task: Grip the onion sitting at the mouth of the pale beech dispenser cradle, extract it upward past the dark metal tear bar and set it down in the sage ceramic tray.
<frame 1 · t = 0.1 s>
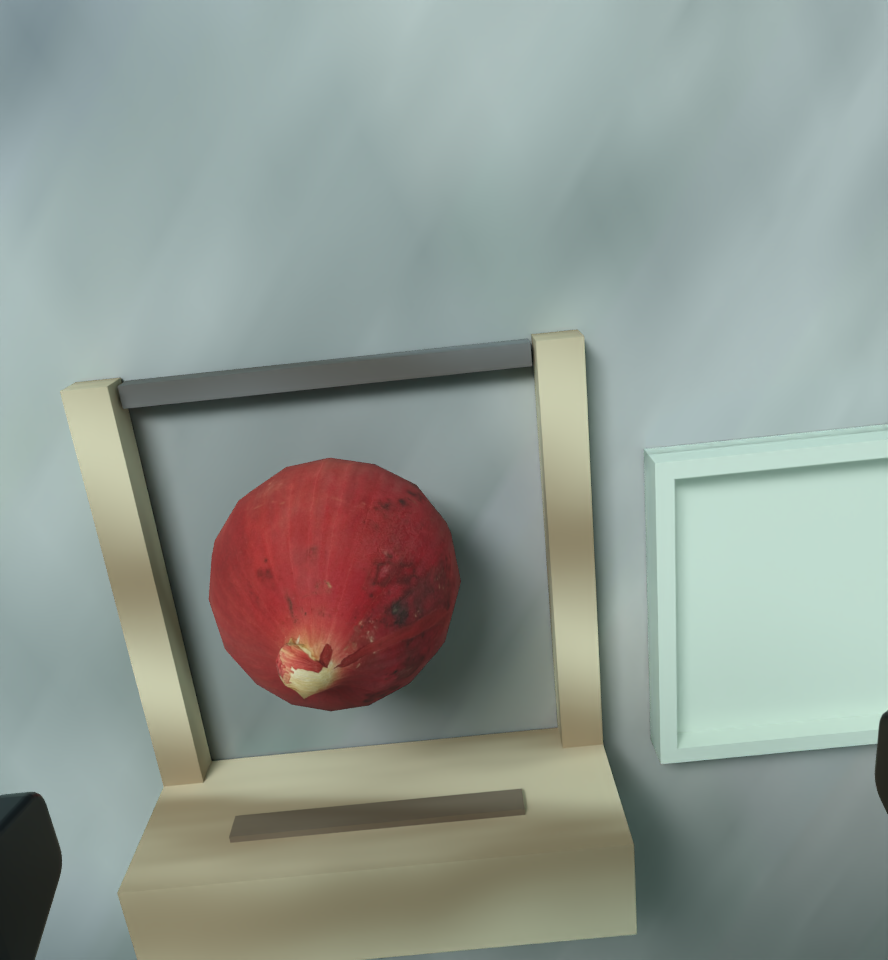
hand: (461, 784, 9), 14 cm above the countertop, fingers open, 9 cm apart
onion: (350, 518, 24), resting in dispenser
tray: (810, 587, 24), on the countertop
dispenser: (357, 570, 24), on the countertop
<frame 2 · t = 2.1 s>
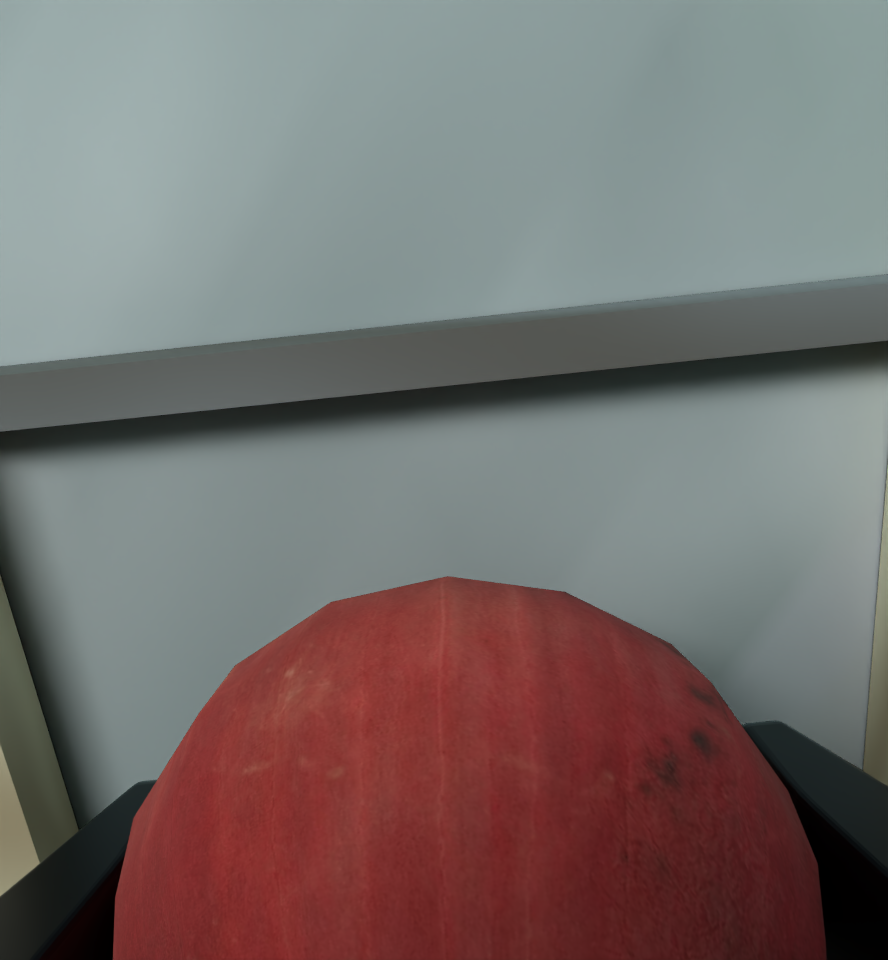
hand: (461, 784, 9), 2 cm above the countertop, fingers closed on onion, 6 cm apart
onion: (454, 668, 11), resting in dispenser, touching gripper
dispenser: (465, 773, 11), on the countertop
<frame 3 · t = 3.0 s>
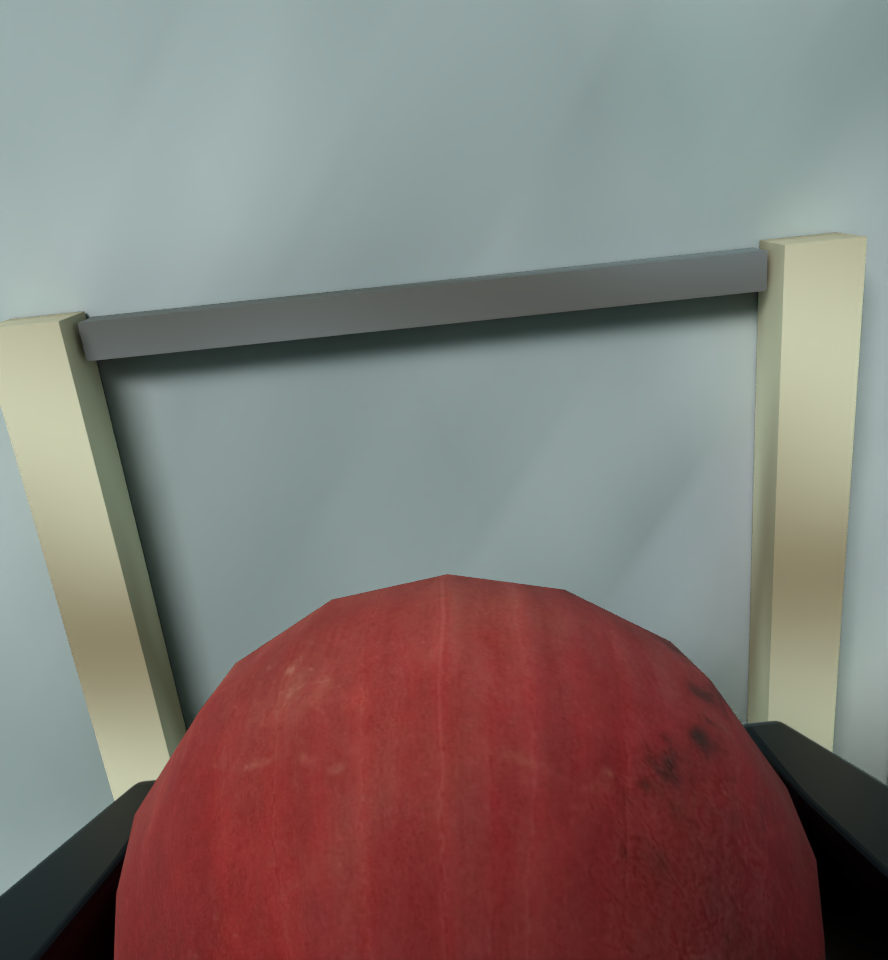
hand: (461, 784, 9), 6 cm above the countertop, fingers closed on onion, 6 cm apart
onion: (454, 667, 11), point 4 cm above the countertop, touching gripper
dispenser: (456, 619, 15), on the countertop
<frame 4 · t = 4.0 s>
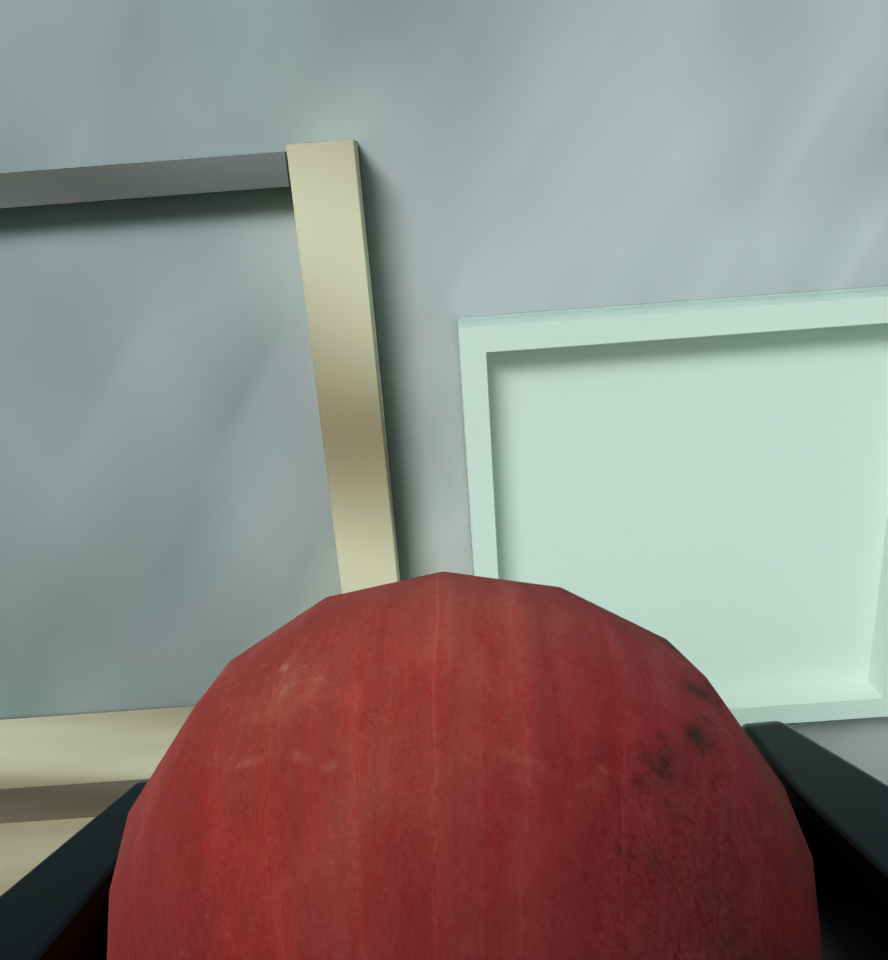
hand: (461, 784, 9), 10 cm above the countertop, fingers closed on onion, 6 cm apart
onion: (451, 665, 11), point 8 cm above the countertop, touching gripper
tray: (684, 517, 19), on the countertop
dispenser: (82, 474, 18), on the countertop
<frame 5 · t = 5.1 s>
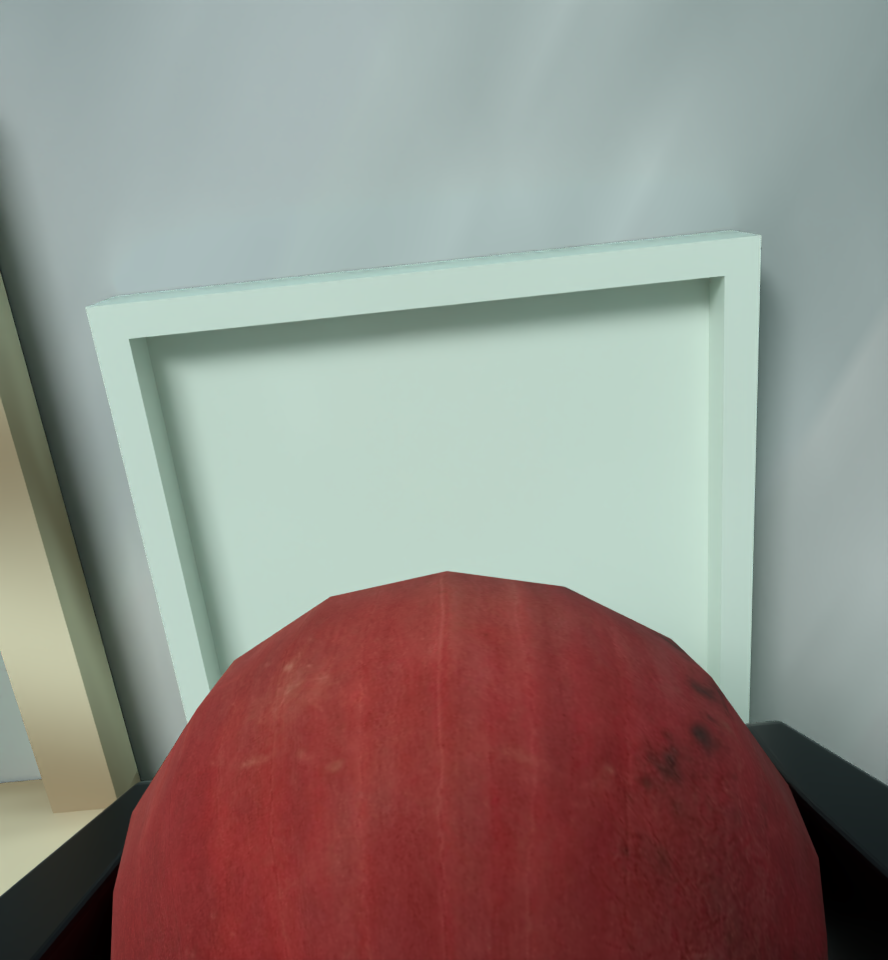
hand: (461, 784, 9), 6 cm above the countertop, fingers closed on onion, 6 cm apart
onion: (454, 665, 11), point 4 cm above the countertop, touching gripper
tray: (452, 545, 15), on the countertop
when the fingers open (4 cm above the countertop, at t = 5.9 s): onion drops 1 cm, resting on tray.
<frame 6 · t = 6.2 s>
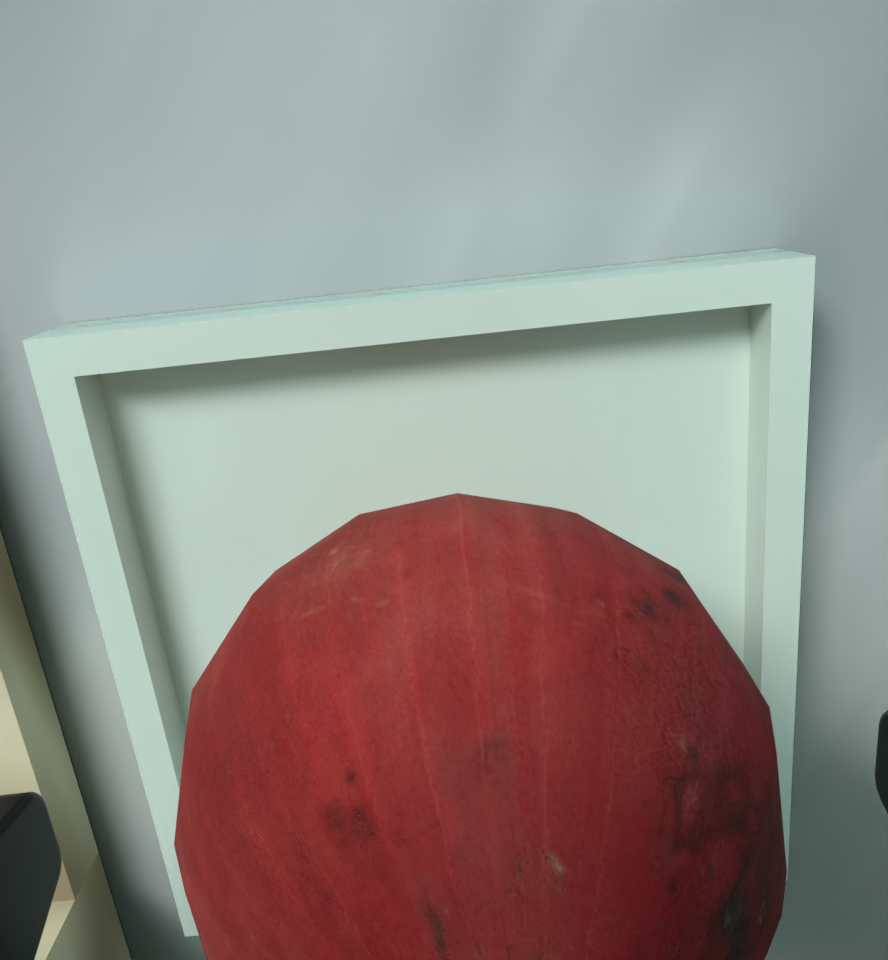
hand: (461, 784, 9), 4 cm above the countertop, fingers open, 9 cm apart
onion: (450, 620, 12), resting on tray
tray: (452, 604, 13), on the countertop
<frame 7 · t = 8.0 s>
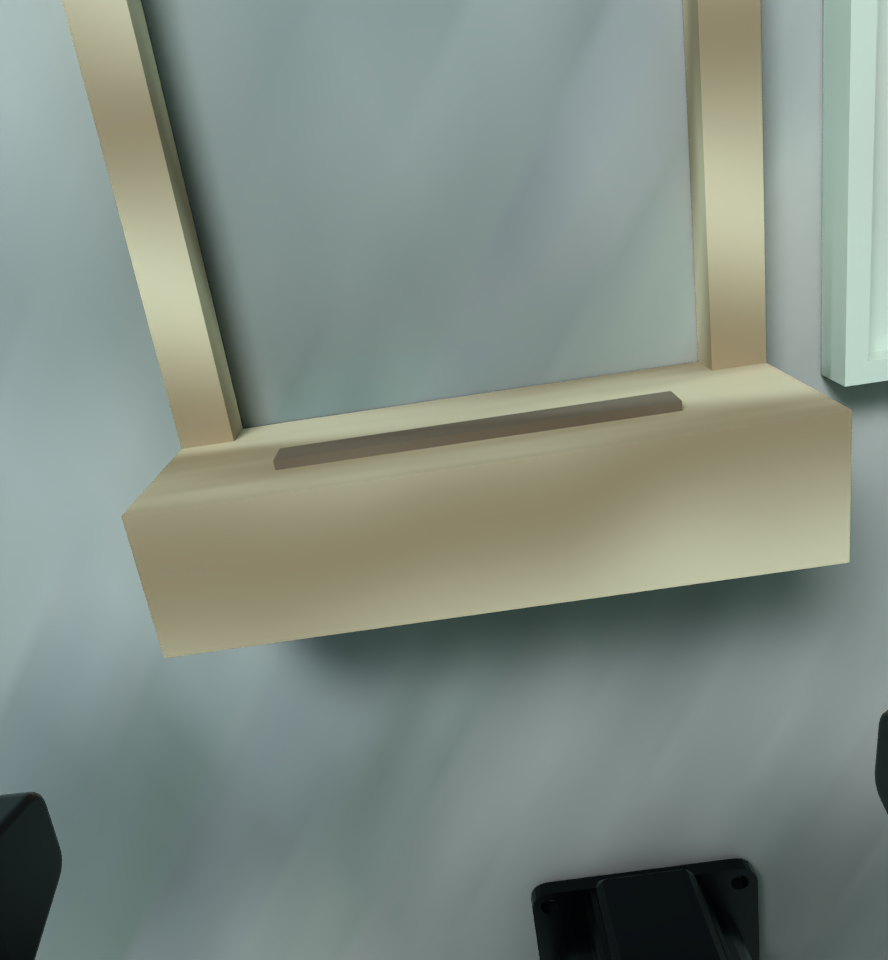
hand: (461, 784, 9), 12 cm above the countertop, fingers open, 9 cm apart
dispenser: (430, 120, 18), on the countertop
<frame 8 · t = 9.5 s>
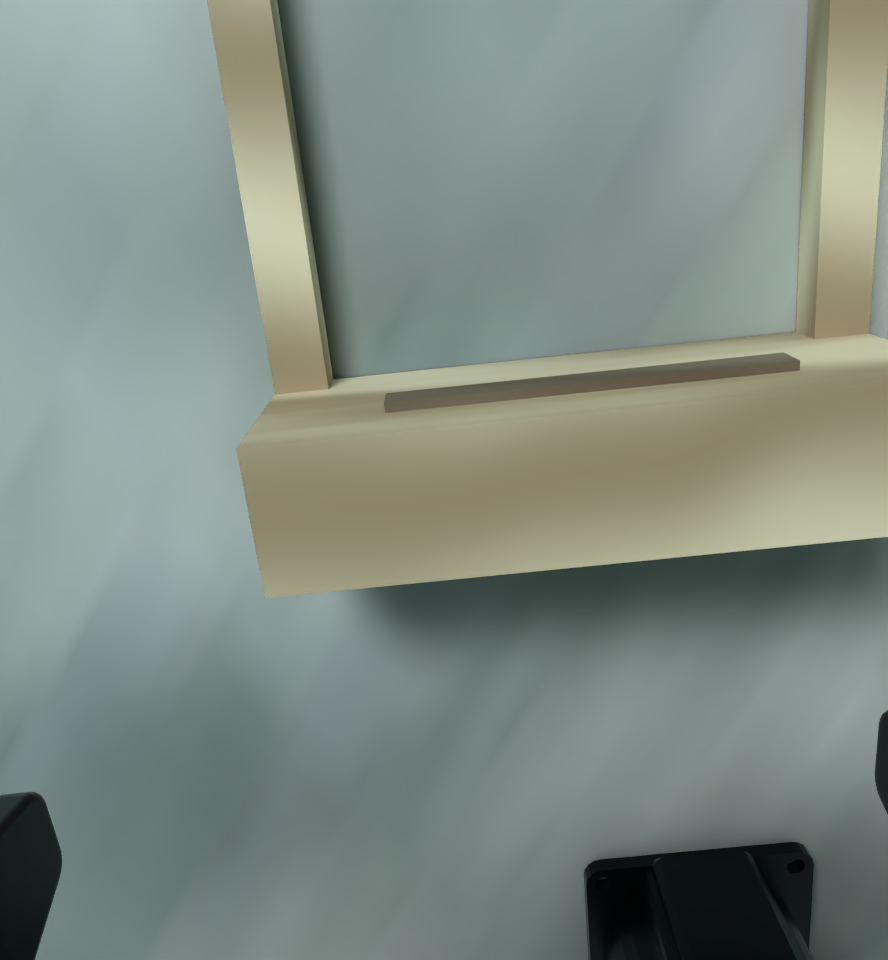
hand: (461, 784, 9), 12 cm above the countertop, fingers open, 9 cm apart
dispenser: (548, 72, 18), on the countertop
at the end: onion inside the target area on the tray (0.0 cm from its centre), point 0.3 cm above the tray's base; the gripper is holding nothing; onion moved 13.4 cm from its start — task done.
